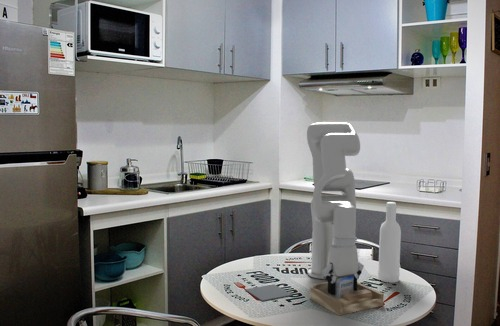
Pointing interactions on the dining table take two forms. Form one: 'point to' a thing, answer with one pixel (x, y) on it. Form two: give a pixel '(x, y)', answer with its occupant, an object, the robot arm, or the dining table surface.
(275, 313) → the dining table surface
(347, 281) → the medicine box
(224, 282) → the dining table surface
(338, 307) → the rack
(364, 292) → the offcut stack
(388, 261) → the bottle
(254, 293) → the mat
